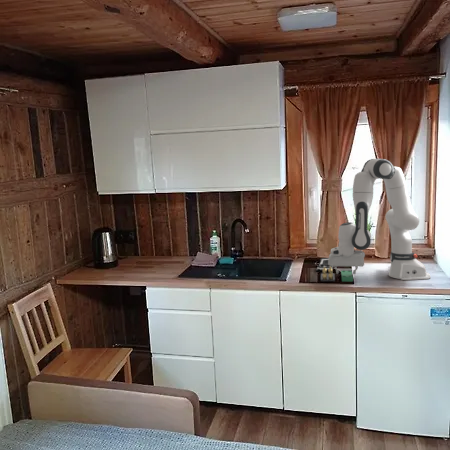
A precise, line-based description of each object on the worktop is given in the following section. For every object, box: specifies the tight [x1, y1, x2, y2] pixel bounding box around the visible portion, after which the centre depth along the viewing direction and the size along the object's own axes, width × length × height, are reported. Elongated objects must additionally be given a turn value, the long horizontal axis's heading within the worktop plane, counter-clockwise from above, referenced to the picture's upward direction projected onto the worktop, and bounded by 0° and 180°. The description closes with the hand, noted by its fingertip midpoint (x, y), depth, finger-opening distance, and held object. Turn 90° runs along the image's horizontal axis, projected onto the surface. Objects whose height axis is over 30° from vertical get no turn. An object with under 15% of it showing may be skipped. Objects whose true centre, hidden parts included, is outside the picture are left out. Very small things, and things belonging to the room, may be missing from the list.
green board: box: [340, 270, 354, 282], centre depth 271 cm, size 6×14×2 cm, turn 168°
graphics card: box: [315, 258, 334, 273], centre depth 297 cm, size 10×3×25 cm
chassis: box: [320, 267, 336, 282], centre depth 273 cm, size 8×13×5 cm, turn 168°
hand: (345, 273), depth 270 cm, fingers open, 8 cm apart
